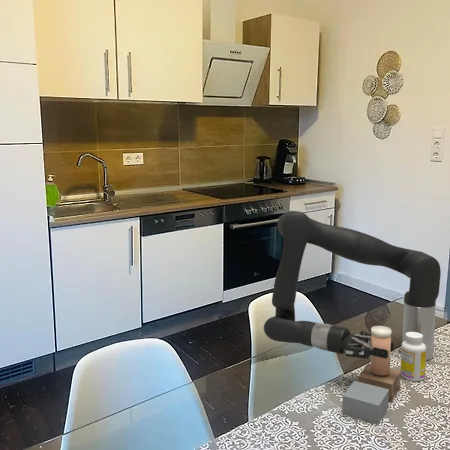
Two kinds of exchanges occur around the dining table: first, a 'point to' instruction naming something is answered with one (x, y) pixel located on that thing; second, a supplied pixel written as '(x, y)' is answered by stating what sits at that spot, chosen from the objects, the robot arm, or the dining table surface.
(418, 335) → the supplement bottle
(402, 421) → the dining table surface
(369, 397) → the stand
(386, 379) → the stand
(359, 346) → the robot arm
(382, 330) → the canister
